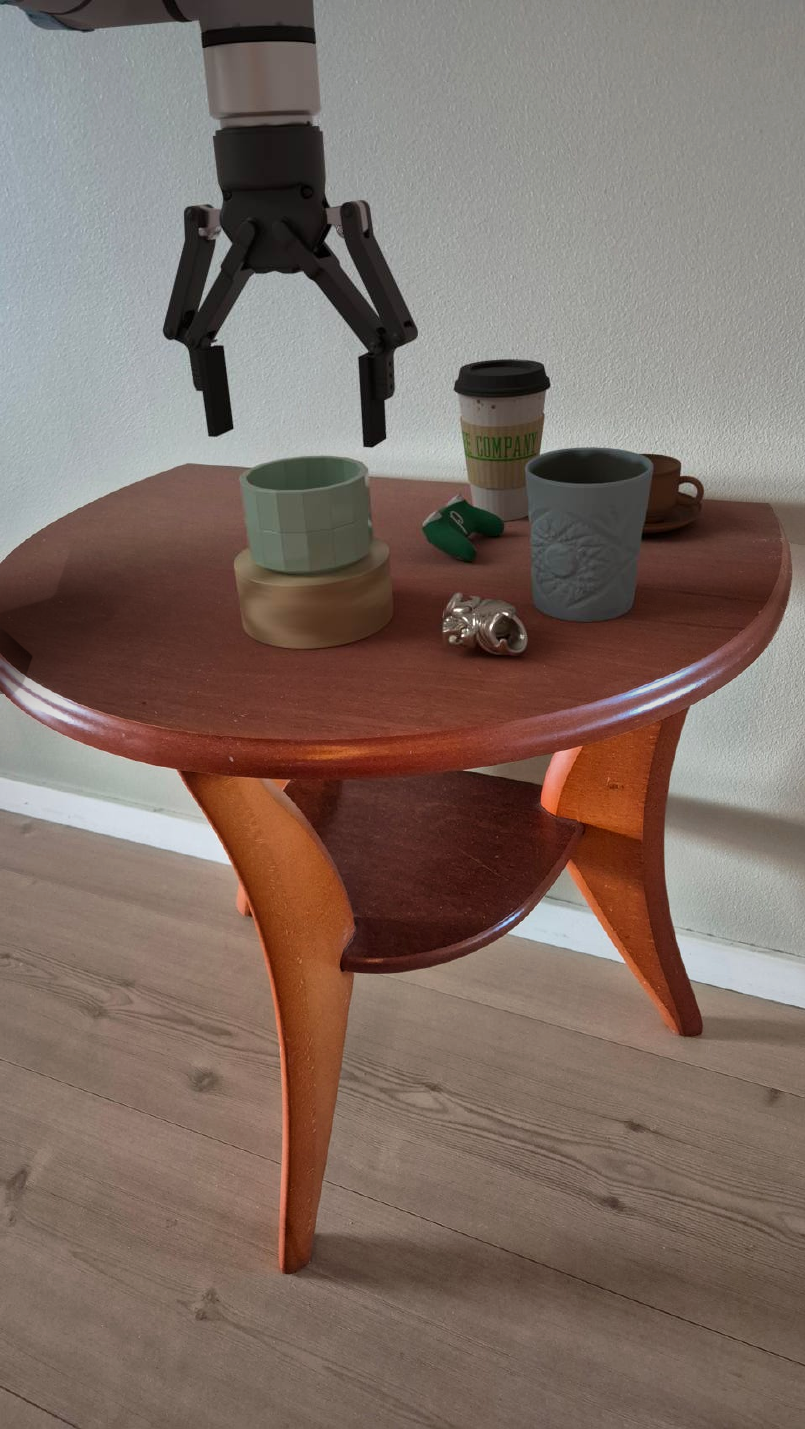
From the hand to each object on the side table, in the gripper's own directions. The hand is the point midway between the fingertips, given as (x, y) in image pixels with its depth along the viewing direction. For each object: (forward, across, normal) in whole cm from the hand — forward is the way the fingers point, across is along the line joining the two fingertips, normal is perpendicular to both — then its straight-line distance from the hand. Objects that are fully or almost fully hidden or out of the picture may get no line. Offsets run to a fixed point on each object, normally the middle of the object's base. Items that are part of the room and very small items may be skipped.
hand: (295, 438), depth 78 cm
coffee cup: (+15, -8, -31) cm, 35 cm away
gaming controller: (+15, -7, -19) cm, 26 cm away
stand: (+15, 0, 0) cm, 15 cm away
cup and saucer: (+15, -22, -30) cm, 41 cm away
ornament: (+15, -16, +2) cm, 22 cm away
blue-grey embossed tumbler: (+15, -22, -9) cm, 28 cm away
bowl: (+10, 0, 0) cm, 10 cm away
